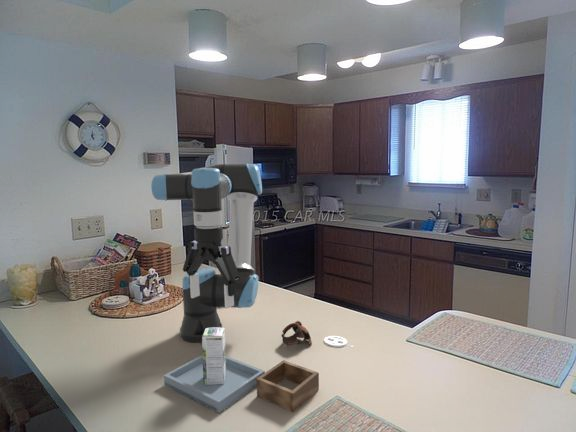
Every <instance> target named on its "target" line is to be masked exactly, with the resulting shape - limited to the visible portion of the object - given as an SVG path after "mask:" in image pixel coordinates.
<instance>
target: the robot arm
mask: <svg viewBox="0 0 576 432" xmlns="http://www.w3.org/2000/svg"><path fill="white" fill-rule="evenodd" d="M261 176H262V175H261V171H260V168H259V166H258V165H257V164H255V163H227V164H226V163H225V164H223V163H220V164H218V163H217V164H213V165H207V166H205V167H200V168H194V169H192V171H190V172H189V171H188V172H181V173H169V174H166V173H163V174H156V175H154V176H153V178H152V180H151V193H152V196H153V198H154V199H156V200H158V201H182V200H183V201H192V211H193V225H194V226H195V227H194V229H193V230H194V233H193V235H194V240H193V241H189V242H188V251H187V255H186V257H185V260H184V264H183V266H182V267H183V268H182V271H183V272H184V273H185V272H186V273H185V275H184V276H183V277H182V287H181V290H182V303H183V317H182V321H181V322H182V323H181V326H180V329H179V337H180V339H181V340H183V341H185V342H186V343H187V342H189V343H197V344H198V343H202V337H203V334H204V331H205V328H212V327H219V328H223V324H222V322H221V320H220V316H219V314H218V311H217V310H218V309H217V308H224V309H229V308H231V309H232V308H235V309H236V308H238V309H243V308H250V307H253V306H254V304H255V303H256V302H255V301H256V298H257V295H258V290H259V281H260V280H259V278H260V277H259V275H257V274H256V273H255V269H254V268H253V267H252V265H251V264H252V263H251V261H252V243H253V242H252V240H253V239H252V237H253V221H254V220H253V218H254V216H253V215H254V203H255V202H257V200H258V196H259V195H260V196H261V195H262V193H263V184H262V177H261ZM225 198H226V199H227V200H228V201H229V202H230V205H229V223H228V240H227V245H226V246H222V240H223V239H224V230H223V229H224V228H223V226H222V225H223V209H222V200H223V199H225ZM204 261H209V262H212V264H214V265H215V266H216V268H217V270H218V271H219V273H217V272H216V271H215V269H214V268H202V269H200V267H201V266H202V264H203V263H204Z"/></svg>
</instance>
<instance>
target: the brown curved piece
mask: <svg viewBox="0 0 576 432" xmlns="http://www.w3.org/2000/svg"><path fill="white" fill-rule="evenodd" d="M291 329H292V330H293V332H294V333H293V334H292V335H289V336H285V335H286V333H287V332H288V331H289V330H291ZM281 338H282V344H283V345H292V344H296V345H298V339H304V341H305V340H306V341H308V344H309V346H310V347H312V344H313V342H312V338H311V335H310V333H309V330H307V328H306V327H305V326H303V324H302V322H301V321H300V320H296V321H295V322H292V323H289V324H288V325H287V326H285V327H284V328H283V330H282V334H281Z"/></svg>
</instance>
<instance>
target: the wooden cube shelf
mask: <svg viewBox="0 0 576 432" xmlns="http://www.w3.org/2000/svg"><path fill="white" fill-rule="evenodd" d="M319 376H320V374H319V372H318V371H315V370H312V369H309V368H307V367H304V366H301V365H299V364H295V363H293V362H290V361H287V360H284V359H283V360H282V361H280V362H278V363H277V364H276V365H274V366H273V367H272V368H270V369H268V370H267V371H266V372H265V373H264V374H263V375H261V376H260V377H258V378H257V387H256V396H257V397H259V398H260V399H263V400H265V401H267V402H270V403H271V404H274V405H276V406H279V407H281V408H283V409H285V410H287V411H290V412H291V413H294V412H296V411H297V410H298V409H299V408H300V407H301V406H302V405H304V403H306V401H308V400H309V399H310V398H311V397H312V396H314V394H316V393H317V392H318V391H319V390H320V385H319V384H320V383H319V382H320V381H319V380H320V379H319V378H320V377H319ZM284 380H286V381H288V382H292V383H295V384H297V386H296V387H295V388H294V389H290V388H287V387H284V386H282V385H280V383H281V382H282V381H284Z"/></svg>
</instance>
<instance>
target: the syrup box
mask: <svg viewBox="0 0 576 432" xmlns="http://www.w3.org/2000/svg"><path fill="white" fill-rule="evenodd" d="M201 344H202V345H201V347H202V348H201V349H202V355H203V385H218V384H224V380H225V375H226V359H225V356H226V329H225V327H222V328H219V327H212V328H205V331H204V334H203V337H202V342H201Z"/></svg>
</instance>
